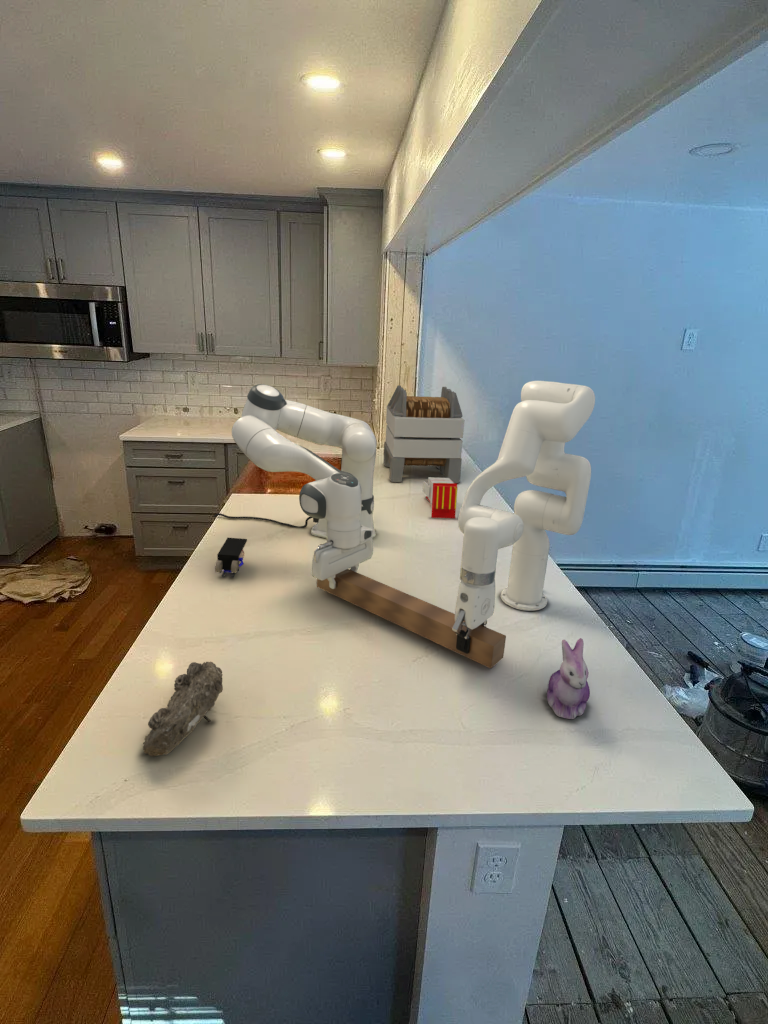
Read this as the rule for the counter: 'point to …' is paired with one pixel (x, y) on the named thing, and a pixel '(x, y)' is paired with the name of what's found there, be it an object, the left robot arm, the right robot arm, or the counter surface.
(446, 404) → the transformer
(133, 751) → the counter surface
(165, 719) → the fossil
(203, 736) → the counter surface
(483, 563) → the right robot arm
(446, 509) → the toy
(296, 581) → the counter surface
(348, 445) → the left robot arm
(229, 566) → the figurine character
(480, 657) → the beam
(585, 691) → the figurine
